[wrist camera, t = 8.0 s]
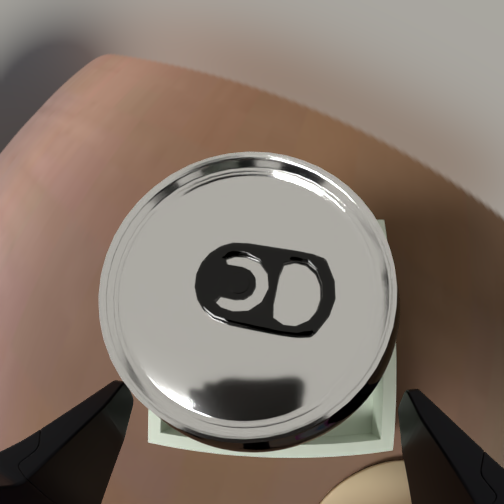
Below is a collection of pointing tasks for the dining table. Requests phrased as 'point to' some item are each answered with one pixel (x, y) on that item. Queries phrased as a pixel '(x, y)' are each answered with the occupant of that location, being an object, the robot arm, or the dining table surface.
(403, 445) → the robot arm
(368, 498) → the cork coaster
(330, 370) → the beverage can
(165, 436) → the holder tray
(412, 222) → the dining table surface
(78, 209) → the dining table surface
